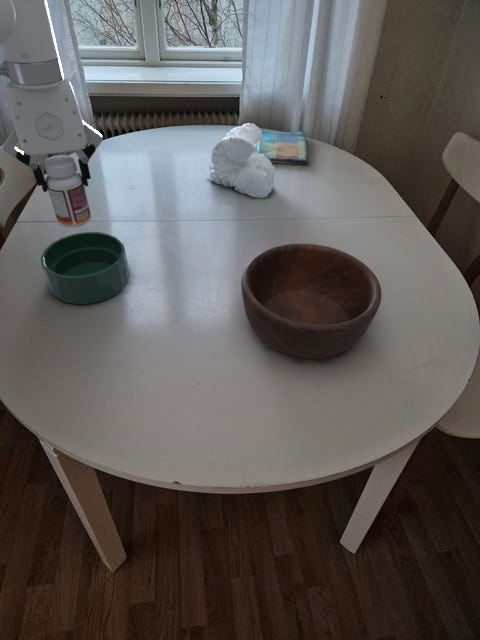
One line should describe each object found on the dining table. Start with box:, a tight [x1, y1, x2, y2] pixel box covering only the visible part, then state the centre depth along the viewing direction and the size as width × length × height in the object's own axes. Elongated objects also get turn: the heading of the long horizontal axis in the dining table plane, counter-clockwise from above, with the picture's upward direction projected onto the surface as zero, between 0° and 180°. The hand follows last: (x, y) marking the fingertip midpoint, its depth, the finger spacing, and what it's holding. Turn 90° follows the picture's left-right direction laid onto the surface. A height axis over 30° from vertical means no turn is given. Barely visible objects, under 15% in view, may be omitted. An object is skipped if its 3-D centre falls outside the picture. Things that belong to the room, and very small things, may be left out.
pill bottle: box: [42, 154, 92, 228], centre depth 77 cm, size 6×6×11 cm
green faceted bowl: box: [40, 231, 130, 305], centre depth 89 cm, size 16×16×7 cm
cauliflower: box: [209, 122, 276, 199], centre depth 122 cm, size 19×20×20 cm
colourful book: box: [256, 129, 309, 166], centre depth 145 cm, size 17×23×2 cm
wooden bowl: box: [240, 243, 382, 360], centre depth 80 cm, size 25×25×10 cm
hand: (65, 184), depth 76 cm, fingers closed on pill bottle, 6 cm apart
